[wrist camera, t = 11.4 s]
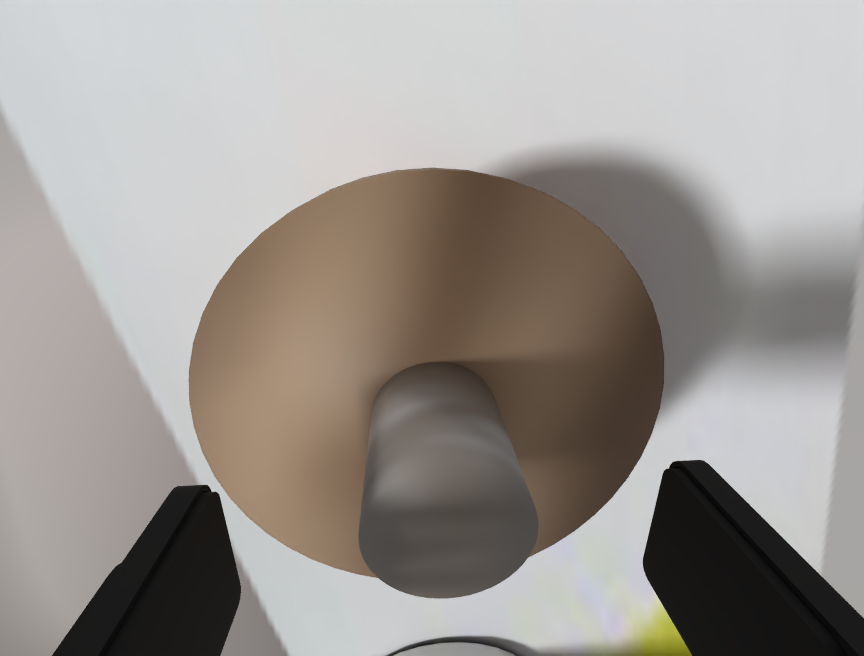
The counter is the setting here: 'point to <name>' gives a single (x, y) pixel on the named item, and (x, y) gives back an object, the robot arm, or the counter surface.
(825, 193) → the counter surface
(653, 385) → the lid
